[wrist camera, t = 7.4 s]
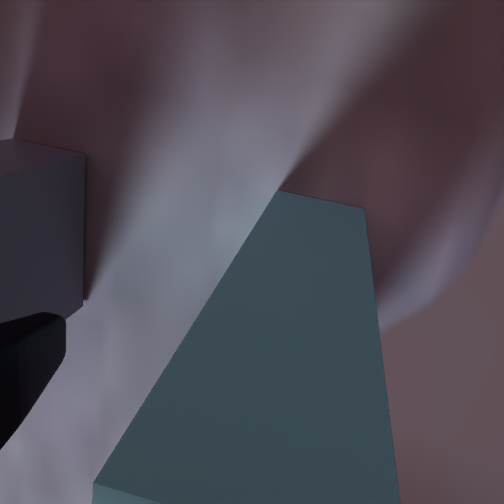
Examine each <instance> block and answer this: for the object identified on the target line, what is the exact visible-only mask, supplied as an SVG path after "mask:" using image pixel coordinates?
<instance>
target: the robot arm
mask: <svg viewBox="0 0 504 504" xmlns="http://www.w3.org/2000/svg"><path fill="white" fill-rule="evenodd" d="M65 352H66V321H65V318H64V317H63V316H62V315H58V314H54V313H50V312H40V313H36V314H33V315H29V316H25V317H21V318H18V319H14V320H10V321H7V322H3V323H0V450H1V448H2V447H3V446H4V445H5V443H6V442H7V441H8V440H9V439H10V437H11V436H12V435H13V434H14V432H15V431H16V430H17V428H18V427H19V426H20V425H21V423H22V422H23V420H24V419H25V418H26V416H27V415H28V413H29V412H30V410H31V409H32V407H33V406H34V404H35V403H36V401H37V400H38V398H39V396H40V395H41V393H42V392H43V390H44V389H45V387H46V386H47V384H48V383H49V381H50V380H51V378H52V377H53V375H54V374H55V372H56V371H57V369H58V368H59V366H60V364H61V363H62V361H63V359H64V356H65Z"/></svg>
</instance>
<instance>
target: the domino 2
mask: <svg viewBox="0 0 504 504" xmlns="http://www.w3.org/2000/svg"><path fill="white" fill-rule="evenodd" d="M92 504H400V497H399V488H398V481H397V473H396V464H395V456H394V447H393V439H392V431H391V423H390V415H389V407H388V399H387V391H386V382H385V374H384V366H383V358H382V349H381V341H380V333H379V325H378V317H377V308H376V300H375V292H374V284H373V276H372V267H371V259H370V251H369V243H368V235H367V227H366V218H365V210H364V208H359V207H354V206H350V205H345V204H340V203H335V202H331V201H326V200H321V199H316V198H312V197H307V196H302V195H297V194H293V193H288V192H283V191H278V190H277V191H276V193H275V194H274V196H273V198H272V199H271V201H270V202H269V204H268V205H267V207H266V209H265V210H264V212H263V213H262V215H261V217H260V218H259V220H258V221H257V223H256V225H255V226H254V228H253V229H252V231H251V233H250V234H249V236H248V237H247V239H246V240H245V242H244V244H243V245H242V247H241V248H240V250H239V252H238V253H237V255H236V256H235V258H234V260H233V261H232V263H231V264H230V266H229V268H228V269H227V271H226V272H225V274H224V275H223V277H222V279H221V280H220V282H219V283H218V285H217V287H216V288H215V290H214V291H213V293H212V295H211V296H210V298H209V299H208V301H207V303H206V304H205V306H204V307H203V309H202V310H201V312H200V314H199V315H198V317H197V318H196V320H195V322H194V323H193V325H192V326H191V328H190V330H189V331H188V333H187V334H186V336H185V338H184V339H183V341H182V342H181V344H180V345H179V347H178V349H177V350H176V352H175V353H174V355H173V357H172V358H171V360H170V361H169V363H168V365H167V366H166V368H165V369H164V371H163V372H162V374H161V376H160V377H159V379H158V380H157V382H156V384H155V385H154V387H153V388H152V390H151V392H150V393H149V395H148V396H147V398H146V400H145V401H144V403H143V404H142V406H141V407H140V409H139V411H138V412H137V414H136V415H135V417H134V419H133V420H132V422H131V423H130V425H129V427H128V428H127V430H126V431H125V433H124V435H123V436H122V438H121V439H120V441H119V442H118V444H117V446H116V447H115V449H114V450H113V452H112V454H111V455H110V457H109V458H108V460H107V462H106V463H105V465H104V466H103V468H102V470H101V471H100V473H99V474H98V476H97V477H96V479H95V481H94V482H93V497H92Z"/></svg>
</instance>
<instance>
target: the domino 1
mask: <svg viewBox="0 0 504 504" xmlns="http://www.w3.org/2000/svg"><path fill="white" fill-rule="evenodd" d="M84 210H85V154H82V153H78V152H73V151H68V150H64V149H59V148H54V147H50V146H45V145H40V144H36V143H31V142H26V141H22V140H17V139H6V140H0V323H3V322H7V321H10V320H14V319H18V318H21V317H25V316H29V315H33V314H36V313H40V312H50V313H54V314H58V315H62V316H63V317H64V318H65V319H67V318H68V317H69V316H71V315H72V314H73V313H75V312H76V311H77V310H78V309H80V308H81V307H82V306H83V268H84Z"/></svg>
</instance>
